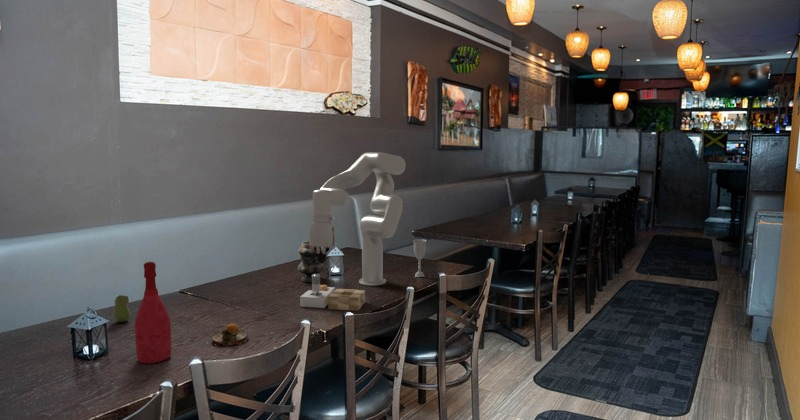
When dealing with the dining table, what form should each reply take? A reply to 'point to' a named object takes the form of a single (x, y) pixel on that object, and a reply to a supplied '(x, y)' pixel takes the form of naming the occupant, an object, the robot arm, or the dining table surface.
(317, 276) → the drill bit
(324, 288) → the release plunger
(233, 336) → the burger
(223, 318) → the dining table surface
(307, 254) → the apothecary jar
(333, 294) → the block
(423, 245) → the chalice
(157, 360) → the wine bottle
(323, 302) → the socket block
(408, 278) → the dining table surface
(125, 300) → the pear
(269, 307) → the dining table surface
